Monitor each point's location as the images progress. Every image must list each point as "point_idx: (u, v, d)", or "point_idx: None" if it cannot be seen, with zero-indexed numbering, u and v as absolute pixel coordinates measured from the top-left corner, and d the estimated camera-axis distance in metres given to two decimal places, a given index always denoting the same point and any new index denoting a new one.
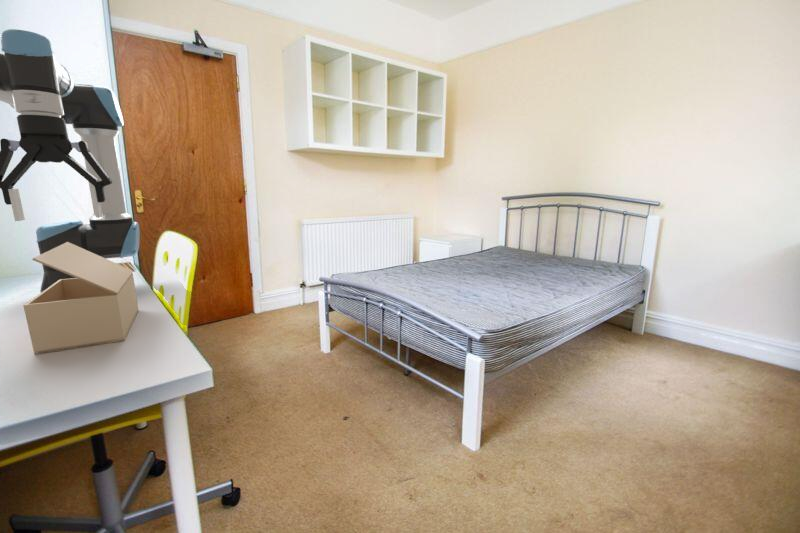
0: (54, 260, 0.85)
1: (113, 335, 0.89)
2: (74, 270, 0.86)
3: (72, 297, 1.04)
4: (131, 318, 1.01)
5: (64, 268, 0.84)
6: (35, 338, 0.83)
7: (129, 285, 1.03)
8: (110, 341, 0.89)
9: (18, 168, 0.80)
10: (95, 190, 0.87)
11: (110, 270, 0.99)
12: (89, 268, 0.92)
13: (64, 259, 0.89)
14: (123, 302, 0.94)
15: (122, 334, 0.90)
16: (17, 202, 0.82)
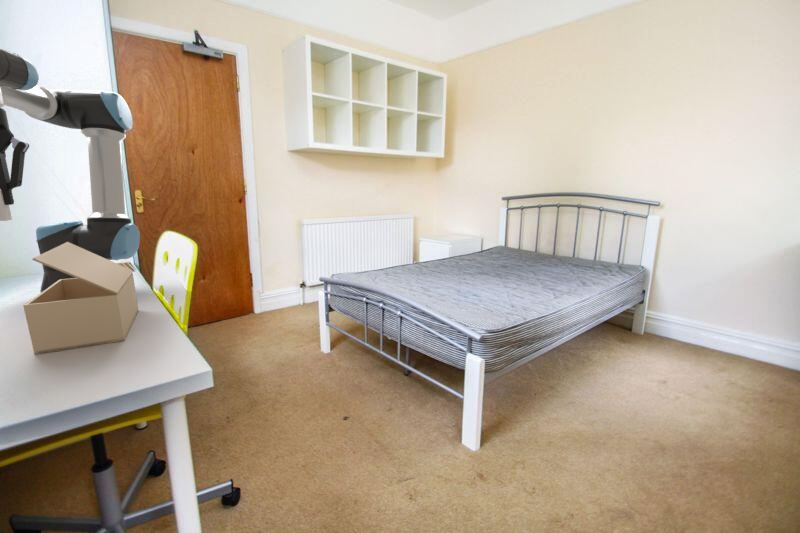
0: (54, 260, 0.85)
1: (113, 335, 0.89)
2: (74, 270, 0.86)
3: (72, 297, 1.04)
4: (131, 318, 1.01)
5: (64, 268, 0.84)
6: (35, 338, 0.83)
7: (129, 285, 1.03)
8: (110, 341, 0.89)
9: None
10: (1, 192, 0.84)
11: (110, 270, 0.99)
12: (89, 268, 0.92)
13: (64, 259, 0.89)
14: (123, 302, 0.94)
15: (122, 334, 0.90)
16: None
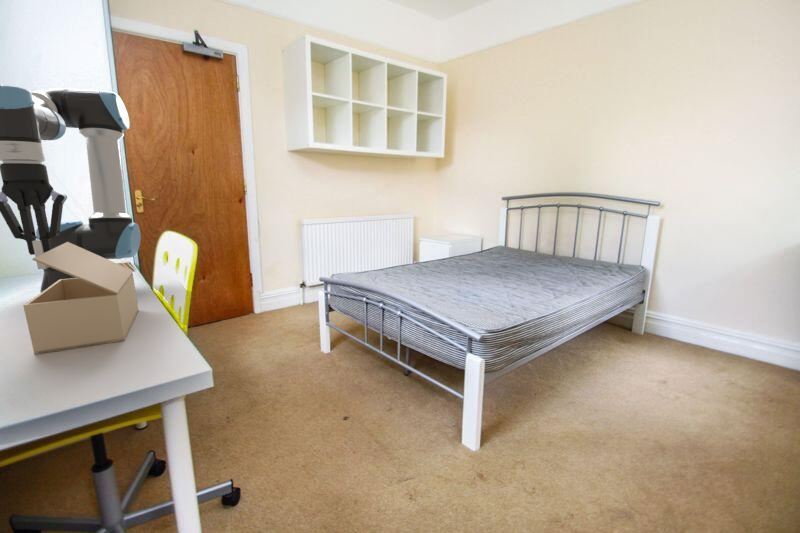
0: (54, 260, 0.85)
1: (113, 335, 0.89)
2: (74, 270, 0.86)
3: (72, 297, 1.04)
4: (131, 318, 1.01)
5: (64, 268, 0.84)
6: (35, 338, 0.83)
7: (129, 285, 1.03)
8: (110, 341, 0.89)
9: (23, 218, 0.87)
10: (41, 242, 0.89)
11: (110, 270, 0.99)
12: (89, 268, 0.92)
13: (64, 259, 0.89)
14: (123, 302, 0.94)
15: (122, 334, 0.90)
16: None
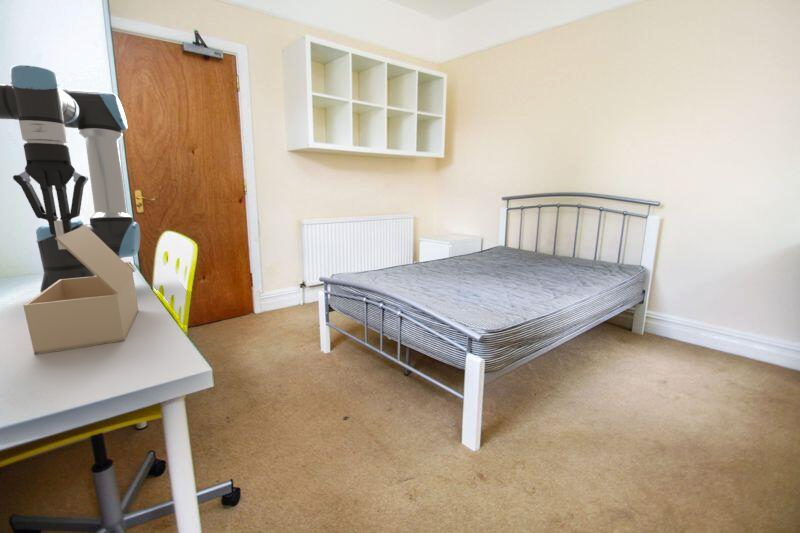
0: (73, 244, 0.86)
1: (113, 335, 0.89)
2: (87, 259, 0.87)
3: (72, 297, 1.04)
4: (131, 318, 1.01)
5: (79, 254, 0.85)
6: (35, 338, 0.83)
7: (129, 285, 1.03)
8: (110, 341, 0.89)
9: (46, 198, 0.88)
10: (62, 223, 0.90)
11: (115, 266, 0.99)
12: (99, 259, 0.93)
13: (80, 244, 0.90)
14: (123, 302, 0.94)
15: (122, 334, 0.90)
16: None
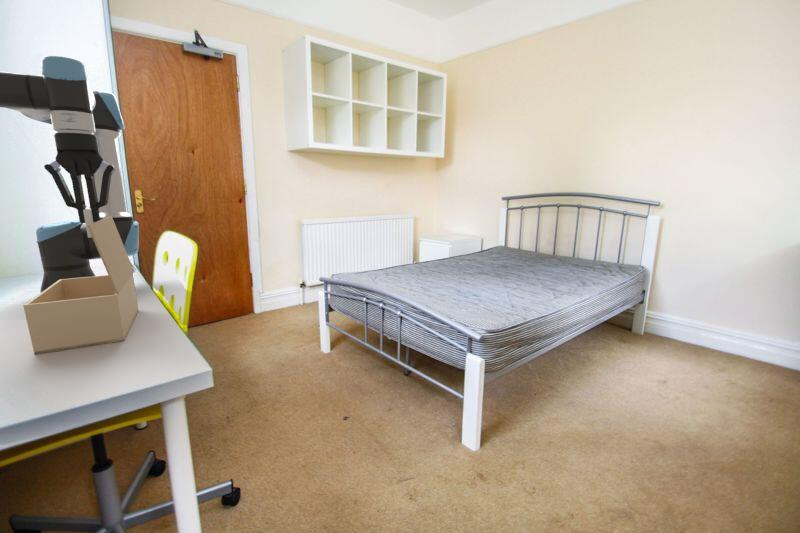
0: (98, 234, 0.88)
1: (113, 335, 0.89)
2: (105, 252, 0.88)
3: (72, 297, 1.04)
4: (131, 318, 1.01)
5: (100, 246, 0.87)
6: (35, 338, 0.83)
7: (129, 285, 1.03)
8: (110, 341, 0.89)
9: (75, 187, 0.90)
10: (91, 211, 0.92)
11: (122, 263, 1.00)
12: (113, 254, 0.94)
13: (104, 235, 0.92)
14: (123, 302, 0.94)
15: (122, 334, 0.90)
16: None
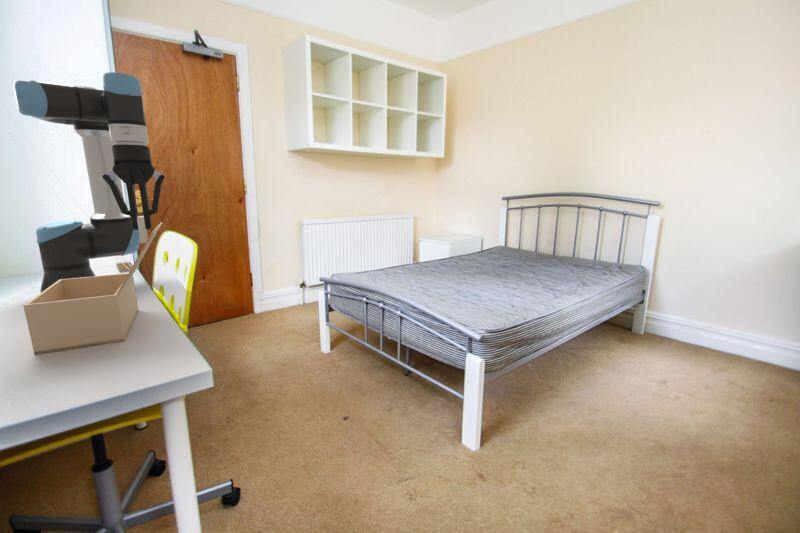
0: (150, 240, 0.93)
1: (113, 335, 0.89)
2: (140, 256, 0.91)
3: (72, 297, 1.04)
4: (131, 318, 1.01)
5: (143, 251, 0.90)
6: (35, 338, 0.83)
7: (129, 285, 1.03)
8: (110, 341, 0.89)
9: (130, 195, 0.94)
10: (144, 218, 0.97)
11: None
12: (140, 257, 0.97)
13: (150, 241, 0.96)
14: (123, 302, 0.94)
15: (122, 334, 0.90)
16: None
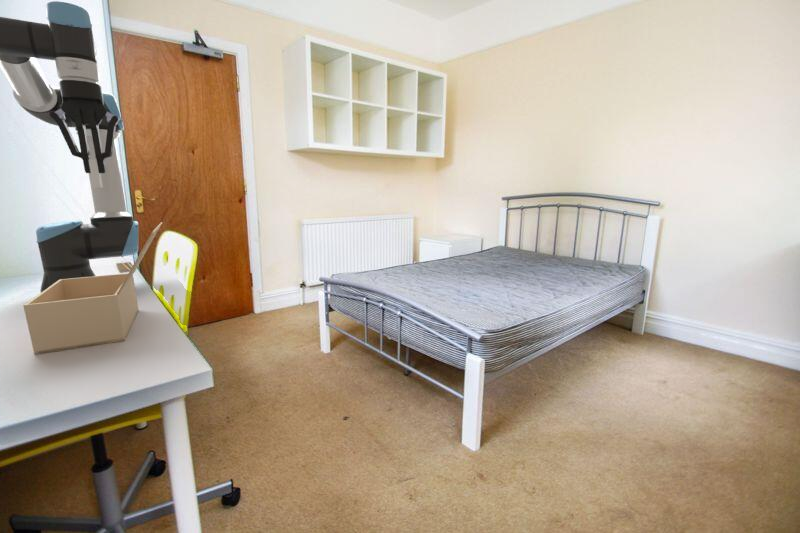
0: None
1: (113, 335, 0.89)
2: (141, 256, 0.91)
3: (72, 297, 1.04)
4: (131, 318, 1.01)
5: (143, 251, 0.90)
6: (35, 338, 0.83)
7: (129, 285, 1.03)
8: (110, 341, 0.89)
9: (81, 136, 0.91)
10: (96, 161, 0.93)
11: None
12: (140, 257, 0.97)
13: (150, 241, 0.96)
14: (123, 302, 0.94)
15: (122, 334, 0.90)
16: None
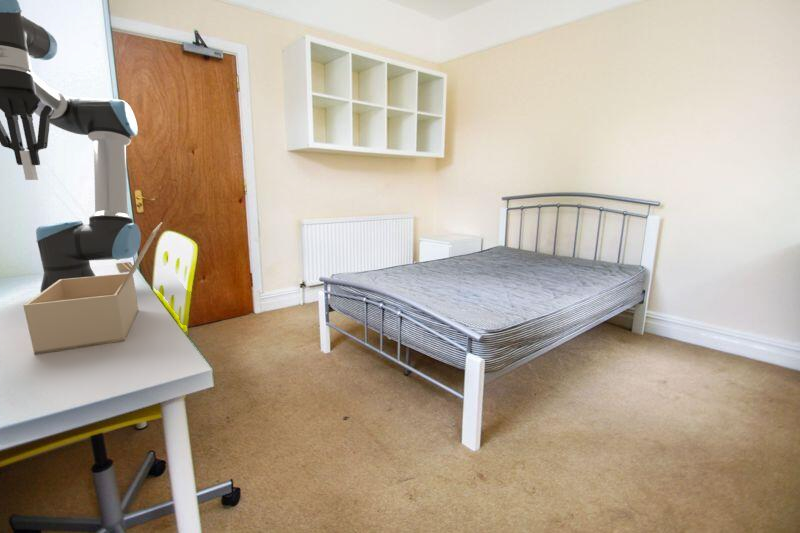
0: None
1: (113, 335, 0.89)
2: (141, 256, 0.91)
3: (72, 297, 1.04)
4: (131, 318, 1.01)
5: (143, 251, 0.90)
6: (35, 338, 0.83)
7: (129, 285, 1.03)
8: (110, 341, 0.89)
9: (11, 126, 0.88)
10: (29, 153, 0.90)
11: None
12: (140, 257, 0.97)
13: (150, 241, 0.96)
14: (123, 302, 0.94)
15: (122, 334, 0.90)
16: None
